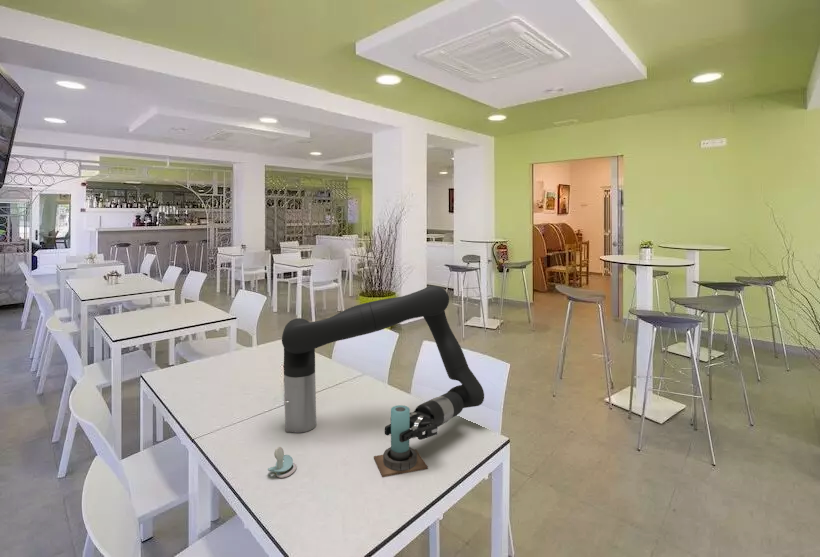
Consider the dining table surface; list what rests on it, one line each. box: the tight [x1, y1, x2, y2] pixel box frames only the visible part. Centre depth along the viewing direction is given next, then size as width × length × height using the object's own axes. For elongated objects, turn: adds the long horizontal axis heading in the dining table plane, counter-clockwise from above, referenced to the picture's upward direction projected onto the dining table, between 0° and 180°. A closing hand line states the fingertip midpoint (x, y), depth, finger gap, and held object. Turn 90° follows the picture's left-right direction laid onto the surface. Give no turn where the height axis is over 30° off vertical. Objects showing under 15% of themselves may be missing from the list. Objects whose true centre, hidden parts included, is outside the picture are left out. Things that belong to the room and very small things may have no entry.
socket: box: [373, 446, 429, 478], centre depth 114 cm, size 12×9×3 cm
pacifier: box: [267, 446, 298, 479], centre depth 110 cm, size 7×6×6 cm
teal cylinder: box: [390, 404, 411, 461], centre depth 113 cm, size 5×5×13 cm
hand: (393, 434), depth 111 cm, fingers closed on teal cylinder, 4 cm apart
